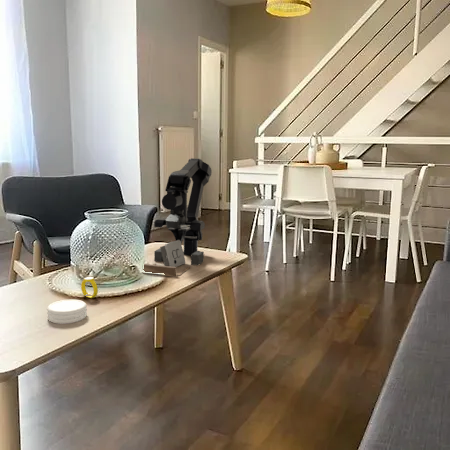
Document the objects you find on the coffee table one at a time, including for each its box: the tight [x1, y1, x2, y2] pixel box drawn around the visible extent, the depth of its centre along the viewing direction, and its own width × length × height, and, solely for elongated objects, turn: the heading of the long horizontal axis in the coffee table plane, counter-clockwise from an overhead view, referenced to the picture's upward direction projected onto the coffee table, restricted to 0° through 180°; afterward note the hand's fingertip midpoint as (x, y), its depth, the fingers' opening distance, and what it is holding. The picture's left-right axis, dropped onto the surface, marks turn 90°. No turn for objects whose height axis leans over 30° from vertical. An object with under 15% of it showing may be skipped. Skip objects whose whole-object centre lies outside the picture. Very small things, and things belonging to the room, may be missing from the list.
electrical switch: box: [160, 239, 186, 268], centre depth 182 cm, size 9×5×9 cm, turn 152°
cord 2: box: [190, 250, 205, 266], centre depth 186 cm, size 6×3×4 cm, turn 164°
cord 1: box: [153, 248, 166, 263], centre depth 190 cm, size 6×3×4 cm, turn 164°
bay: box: [142, 263, 191, 277], centre depth 175 cm, size 12×14×3 cm
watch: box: [80, 276, 99, 299], centre depth 145 cm, size 6×3×6 cm, turn 55°
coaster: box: [46, 299, 88, 325], centre depth 129 cm, size 10×10×4 cm
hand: (179, 245), depth 187 cm, fingers closed
